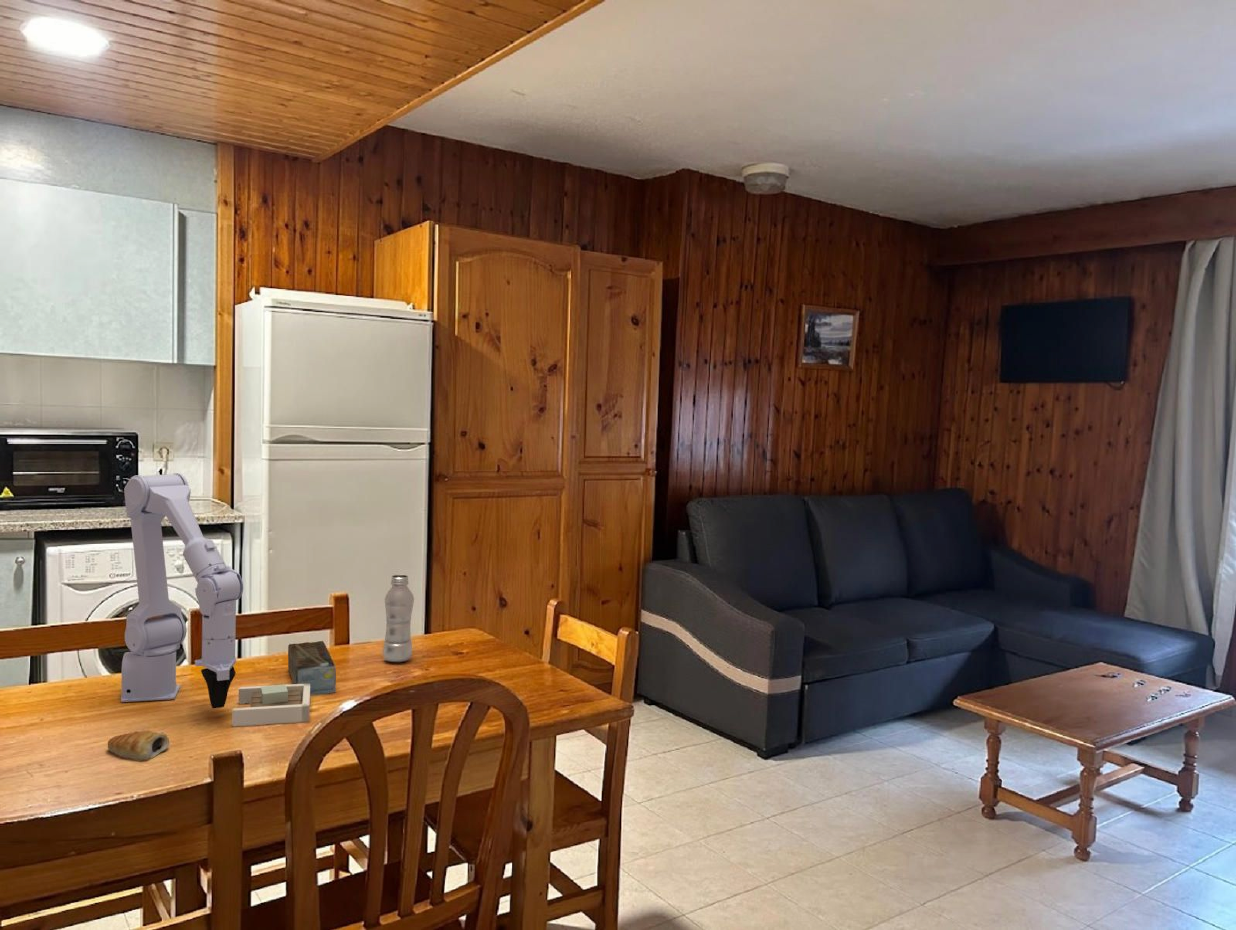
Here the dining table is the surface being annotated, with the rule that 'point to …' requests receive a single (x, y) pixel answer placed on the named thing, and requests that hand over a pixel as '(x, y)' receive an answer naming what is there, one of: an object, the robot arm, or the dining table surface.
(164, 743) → the pastry
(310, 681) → the beverage carton
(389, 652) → the plastic bottle
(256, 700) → the pallet
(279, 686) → the pale green block
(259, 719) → the dock
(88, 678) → the dining table surface
